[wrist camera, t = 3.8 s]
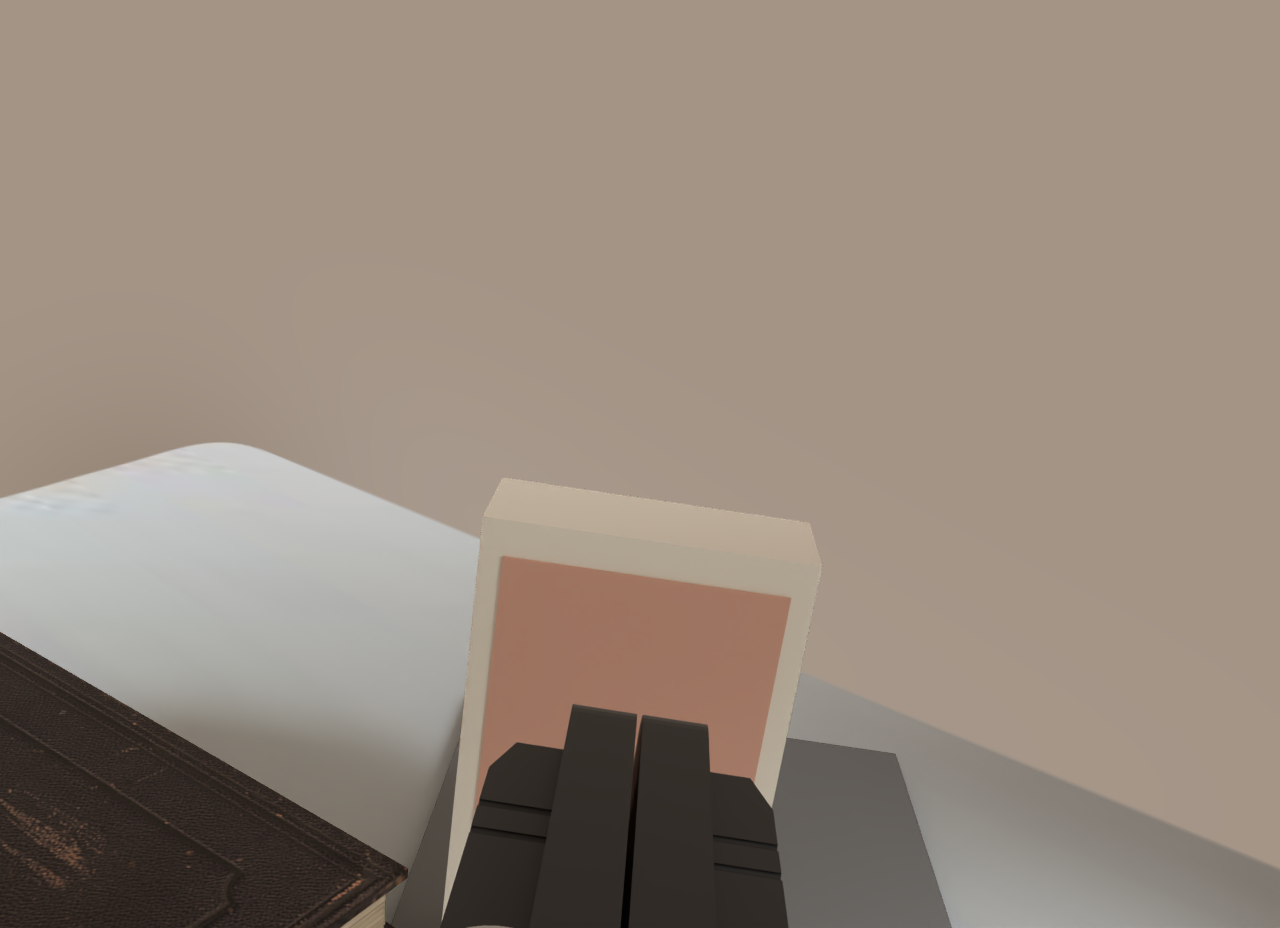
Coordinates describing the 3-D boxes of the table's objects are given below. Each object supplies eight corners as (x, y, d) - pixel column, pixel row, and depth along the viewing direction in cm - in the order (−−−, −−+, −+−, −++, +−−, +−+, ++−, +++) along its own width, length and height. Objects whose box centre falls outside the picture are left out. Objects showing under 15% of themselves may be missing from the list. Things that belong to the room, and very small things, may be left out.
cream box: (723, 949, 28) (809, 522, 25) (726, 1027, 26) (822, 567, 22) (456, 910, 28) (503, 477, 25) (435, 984, 26) (482, 517, 22)
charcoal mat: (892, 765, 39) (895, 753, 38) (1012, 1147, 24) (1017, 1130, 24) (475, 704, 39) (476, 692, 38) (350, 1050, 24) (351, 1032, 24)
